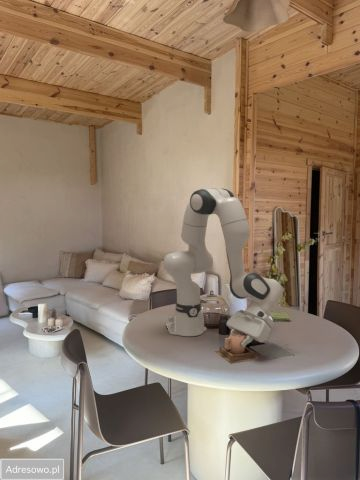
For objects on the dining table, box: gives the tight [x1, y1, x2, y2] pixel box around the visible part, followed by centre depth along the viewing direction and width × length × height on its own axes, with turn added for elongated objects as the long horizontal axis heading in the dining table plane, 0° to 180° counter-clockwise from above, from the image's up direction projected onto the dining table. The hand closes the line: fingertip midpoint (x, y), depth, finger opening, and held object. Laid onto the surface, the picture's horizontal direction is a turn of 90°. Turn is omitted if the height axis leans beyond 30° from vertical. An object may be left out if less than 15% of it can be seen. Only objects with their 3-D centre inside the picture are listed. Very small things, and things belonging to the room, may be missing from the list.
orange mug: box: [224, 332, 246, 355], centre depth 142 cm, size 6×8×8 cm
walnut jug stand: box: [214, 346, 261, 365], centre depth 143 cm, size 13×13×4 cm
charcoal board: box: [249, 342, 295, 360], centre depth 147 cm, size 14×12×2 cm
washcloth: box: [269, 310, 292, 323], centre depth 199 cm, size 13×18×3 cm
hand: (235, 343), depth 142 cm, fingers closed on orange mug, 6 cm apart
